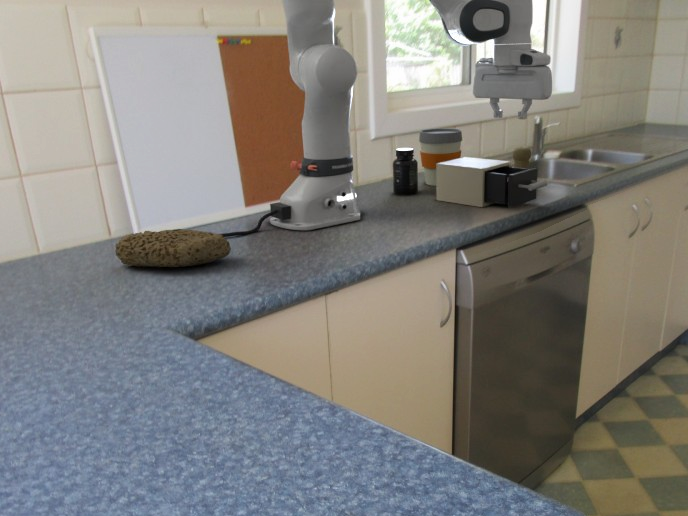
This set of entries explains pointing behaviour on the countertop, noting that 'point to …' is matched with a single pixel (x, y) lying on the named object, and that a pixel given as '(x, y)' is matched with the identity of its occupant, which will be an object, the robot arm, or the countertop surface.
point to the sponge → (171, 248)
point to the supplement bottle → (405, 172)
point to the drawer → (511, 185)
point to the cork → (521, 157)
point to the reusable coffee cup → (438, 149)
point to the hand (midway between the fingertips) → (510, 118)
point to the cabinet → (464, 180)
